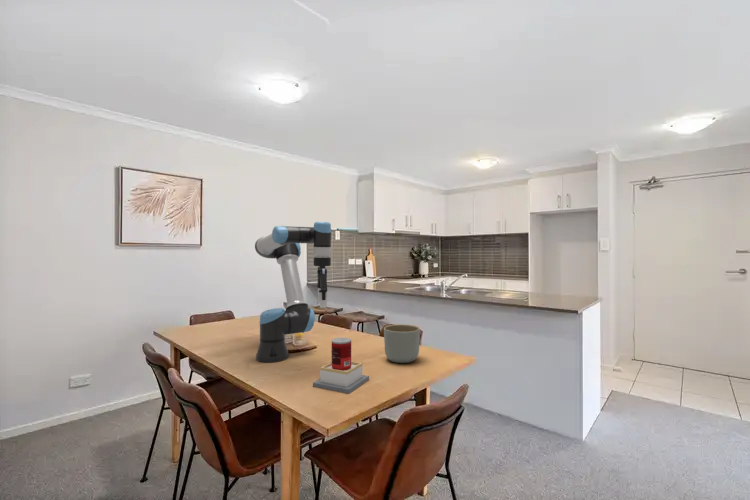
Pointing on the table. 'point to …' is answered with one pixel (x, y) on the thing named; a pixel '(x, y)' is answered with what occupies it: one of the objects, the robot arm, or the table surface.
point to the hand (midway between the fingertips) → (321, 305)
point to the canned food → (341, 353)
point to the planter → (401, 342)
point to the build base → (341, 388)
